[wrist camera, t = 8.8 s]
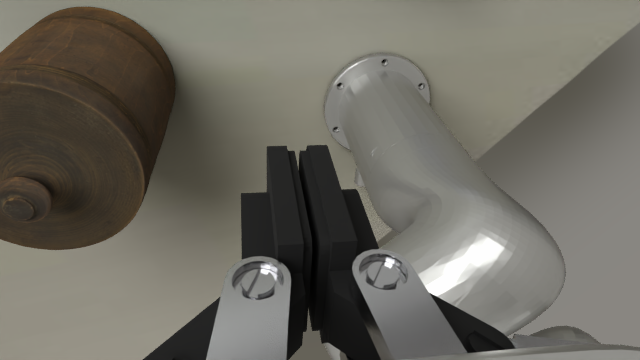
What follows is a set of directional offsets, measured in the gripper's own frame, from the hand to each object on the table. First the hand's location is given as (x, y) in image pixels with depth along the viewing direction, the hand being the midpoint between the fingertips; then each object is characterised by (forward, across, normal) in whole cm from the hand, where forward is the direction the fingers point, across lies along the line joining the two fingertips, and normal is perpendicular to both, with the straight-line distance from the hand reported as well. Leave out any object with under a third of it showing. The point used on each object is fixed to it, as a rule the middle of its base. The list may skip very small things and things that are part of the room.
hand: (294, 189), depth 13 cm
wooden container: (+37, +16, +12) cm, 42 cm away
